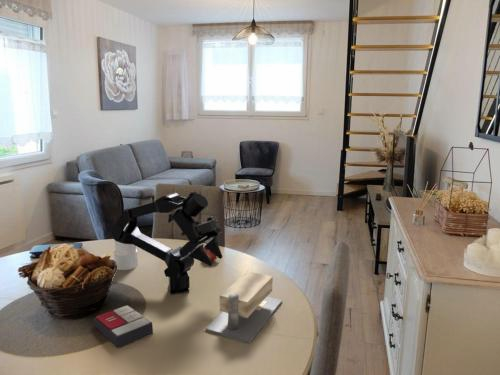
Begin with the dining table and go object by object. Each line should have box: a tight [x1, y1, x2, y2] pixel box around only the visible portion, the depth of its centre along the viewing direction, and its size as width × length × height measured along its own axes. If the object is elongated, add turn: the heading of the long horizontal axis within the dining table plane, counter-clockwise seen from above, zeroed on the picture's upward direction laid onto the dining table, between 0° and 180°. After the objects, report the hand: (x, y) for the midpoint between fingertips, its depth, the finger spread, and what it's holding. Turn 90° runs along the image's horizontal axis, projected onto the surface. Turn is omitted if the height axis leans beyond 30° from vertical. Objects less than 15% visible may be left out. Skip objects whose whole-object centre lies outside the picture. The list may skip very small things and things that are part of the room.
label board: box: [205, 296, 283, 344], centre depth 129 cm, size 14×26×1 cm, turn 155°
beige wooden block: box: [219, 270, 274, 330], centre depth 127 cm, size 9×20×10 cm, turn 155°
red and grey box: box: [94, 305, 154, 349], centre depth 120 cm, size 11×4×15 cm
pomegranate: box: [203, 245, 218, 262], centre depth 171 cm, size 7×7×10 cm
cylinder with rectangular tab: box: [113, 240, 139, 271], centre depth 163 cm, size 9×9×12 cm
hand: (216, 261), depth 136 cm, fingers open, 6 cm apart
